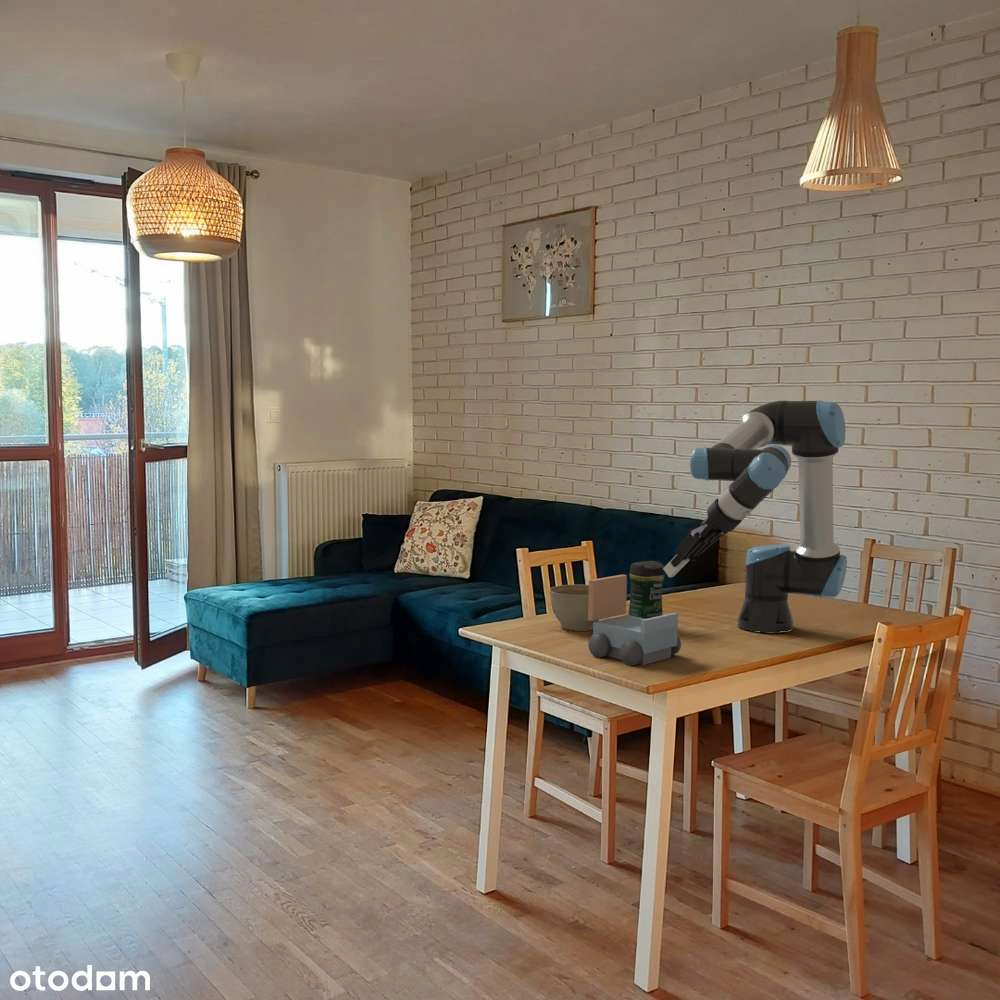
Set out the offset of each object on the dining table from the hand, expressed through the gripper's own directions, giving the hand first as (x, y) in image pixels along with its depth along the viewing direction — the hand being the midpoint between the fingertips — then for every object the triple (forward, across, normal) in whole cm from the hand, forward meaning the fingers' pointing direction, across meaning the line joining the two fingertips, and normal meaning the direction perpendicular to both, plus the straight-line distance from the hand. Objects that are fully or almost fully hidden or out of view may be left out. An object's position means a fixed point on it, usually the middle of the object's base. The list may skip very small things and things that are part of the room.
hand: (668, 572), depth 241 cm
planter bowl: (+44, +12, +12) cm, 47 cm away
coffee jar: (+36, +28, +4) cm, 45 cm away
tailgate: (+23, 0, +3) cm, 23 cm away
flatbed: (+22, 0, -9) cm, 24 cm away
